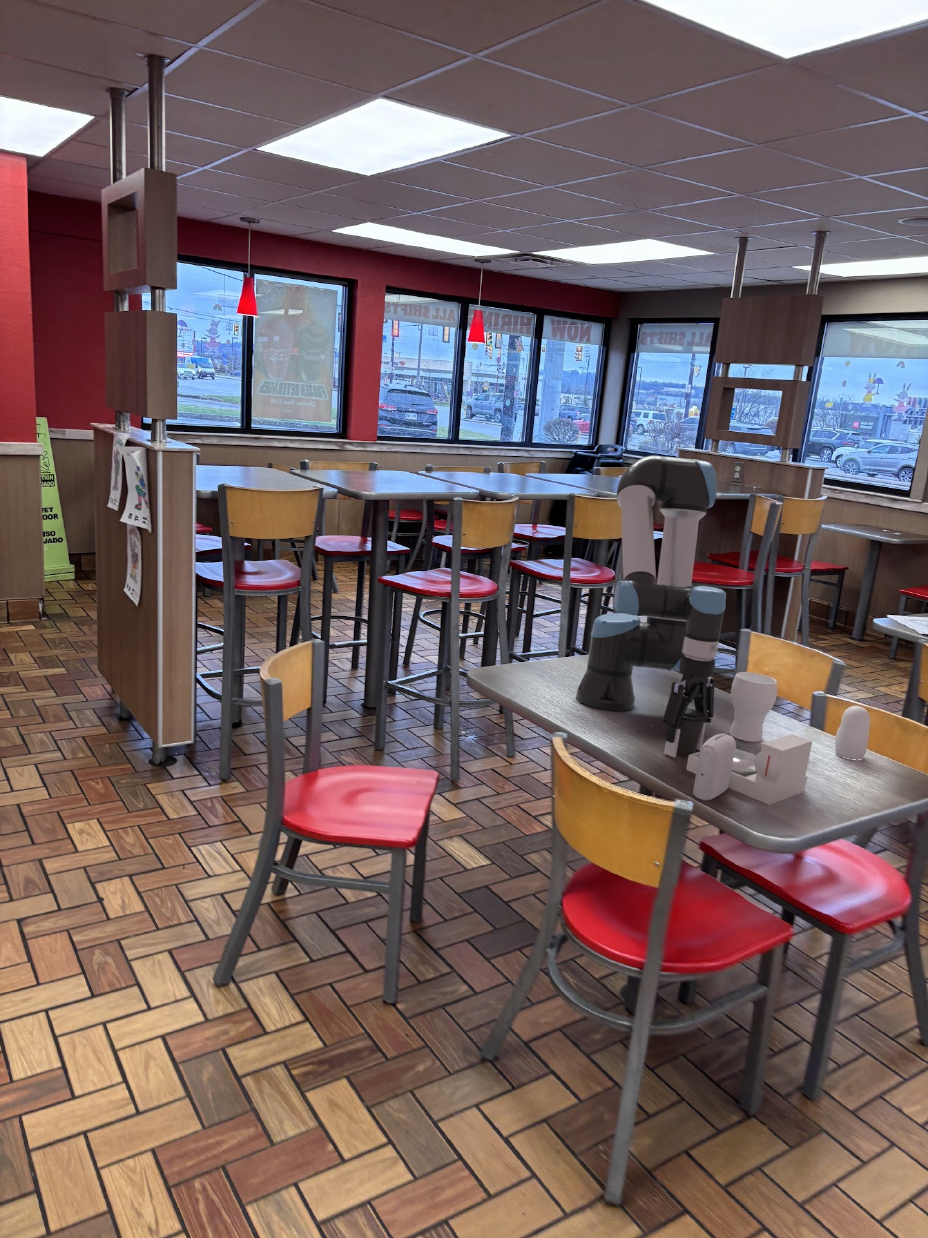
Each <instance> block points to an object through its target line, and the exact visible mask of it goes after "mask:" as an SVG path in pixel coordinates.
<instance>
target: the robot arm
mask: <svg viewBox="0 0 928 1238" xmlns="http://www.w3.org/2000/svg"><path fill="white" fill-rule="evenodd" d="M717 486H718V484H717V474H716V471H715V468H714V466H713V465H712V464H711V462H708V461H704V460H699V459H696V458H694V459H692V458H683V457H673V456H672V457H671V456H660V455H657V454H656V455H648V456H644V457H641V458H639V459H638V460H635V462H633V463H632V464H631V465H629V467H628V468H626V470H625V471H624V472H623V473H622V476H621V477H620V479H619V482H618V485H617V489H616V504H617V505H618V506H619V508H620V511H621V512H620V513H621V517H620V518H621V542H622V543H621V544H622V547H621V548H622V572H623V573H622V577H623V578H622V580H620V581H618V582H617V583H616V585H615V589H614V593H613V594H614V595H613V596H614V598H613V608H614V610H615V611H616V612H615V613H614V612H613V613H605V614H601V615H599V616H597V617H596V618H595V619H594V621H593V624H592V629H591V632H590V636H591V637H590V644H589V653H588V658H587V659H588V660H587V666H586V671H585V673H584V675H583V677H582V679H581V680H580V681H581V682H580V683H579V686H578V687H577V689H576V700H577V699H578V700H579V701H581V702H582V703H581V702H580V703H581V704H583V703H584V704H583V705H585V706H587V705H588V707H591V708H595V709H598V710H604V711H611V712H612V711H613V712H615V711H618V712H621V711H624V712H625V711H629V710H632V709H633V708H634V707H635V703H636V700H635V699H636V696H635V694H634V692H635V691H634V685H633V680H632V677H633V669H634V667H637V668H648V669H656V670H666V671H668V672H671V671H679V672H680V673H681V674H682V678H681V679H680V681H679V682H676V681H673V682H672V684H671V689H670V690H671V691H670V695H669V699H668V702H667V705H666V708H665V711H664V715H663V719H662V721H661V725H663V726H665V727H666V728H667V730H666V737H665V744H664V745H665V746H664V751H663V752H664V753H663V754H664V755H668V757H671V758H677V755H676V753H677V747H678V741H679V735H680V729H678V727H679V725H680V723H681V721H682V718H683V716H684V714H685V712H686V709H687V708H689V705H690V703H694V710H697V711H699V712H701V713H703V714H705V715H706V718H707V720H706V721H704V724H703V727H702V730H701V734H700V737H699V741H698V744H697V747H696V750H698V751H700V750H701V747H702V746H703V744H704V737H705V736H704V735H705V731H706V726H707V725H706V723H707V724H710V723H711V722H712V718H714V707H715V706H714V705H715V703H714V702H715V686H716V682H717V679H716V678H714V677H713V675H714V672H715V667H716V660H715V658H717V655H718V654H717V653H718V650H719V642H720V638H721V637H720V636H721V633H722V627H723V626H722V625H723V621H724V620H723V619H724V614H725V610H726V608H727V607H726V606H727V605H726V601H727V600H726V599H727V593H726V591H724V590H723V589H721V588H718V587H714V586H708V585H707V586H706V585H697V586H695V585H692V583H693V582H692V581H693V573H694V565H695V558H696V557H695V556H696V549H697V542H698V541H697V540H698V532H699V531H698V530H699V523H700V521H701V519H702V518H704V517H705V515H707V509H710V508H712V507H713V506H714V504H715V502H716V498H717V489H718V487H717ZM655 503H660V505H659V512H660V513H661V514H662V515H663V516H664V524H663V532H662V533H663V534H662V538H661V539H662V540H661V548H660V557H659V564H658V565H659V566H658V574H657V573H656V572H657V571H656V556H655V553H656V551H655V536H654V535H655V534H654V517H653V506H654V504H655ZM640 616H643V617H646V622H645V621H644V622H643V621H641V618H640ZM578 700H577V701H578ZM579 701H578V702H579Z"/></svg>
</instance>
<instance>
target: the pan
mask: <svg viewBox="0 0 928 1238" xmlns="http://www.w3.org/2000/svg"><path fill="white" fill-rule="evenodd" d="M756 756H757V754H756V755H755V754H753V753H751V752H748V751H744V750H741V749H737V748H735V754H734V759H733V765H732V771H731V772H734V773H736V774H756V773H757V772H756V770H755V766H754V760H755V757H756Z"/></svg>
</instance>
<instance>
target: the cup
mask: <svg viewBox="0 0 928 1238" xmlns="http://www.w3.org/2000/svg"><path fill="white" fill-rule="evenodd" d="M777 681H778V680H777V679H775V678H773V677H771V676H769V675H766V674H760V673H757V672H750V671H740V672H737V673H736V674H735V676H734V679H733V681H732V684H731V689H730V696H731V697H730V698H731V702H732V706H733V710H734V715H733V716H734V718H733V722H732V724H731V726H730V731H729V735H730V736H732V737H733V738H734V739H738V740H740V741H741V740H742V741H745V742H751V743H752V742H755V743H759V742H761V741H762V740H763V731H764V728H763V725H764V721H765V719H766V716H767V715H768V714H769V713H770V711H771V710H772V709H773V707H774V705H775V703H776V700H777V695H778V682H777Z"/></svg>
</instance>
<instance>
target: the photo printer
mask: <svg viewBox="0 0 928 1238" xmlns="http://www.w3.org/2000/svg"><path fill="white" fill-rule="evenodd" d="M736 746H737V743H736V740H735V737H733V736H731V735H730V734H729V735H728V734H727V733H718V734H715V735H713V736H712V737H710V738H708V739H707V740H706V741H705V742H703V743H702V747H701V750H699V752H700V754H699V760H698V766H697V772H696V774H695V780H694V785H693V790H692V795H693V796H694V797H696V798H697V799H699V800H702V801H712V800H713V799H715V798H717V797H718V796H720V795H721V794H723V793H725V792H726V791H727V790H728V789H729V788H728V786H729V782H730V776H731V771H732V765H733V759H734V754H735V749H737V747H736Z"/></svg>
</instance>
